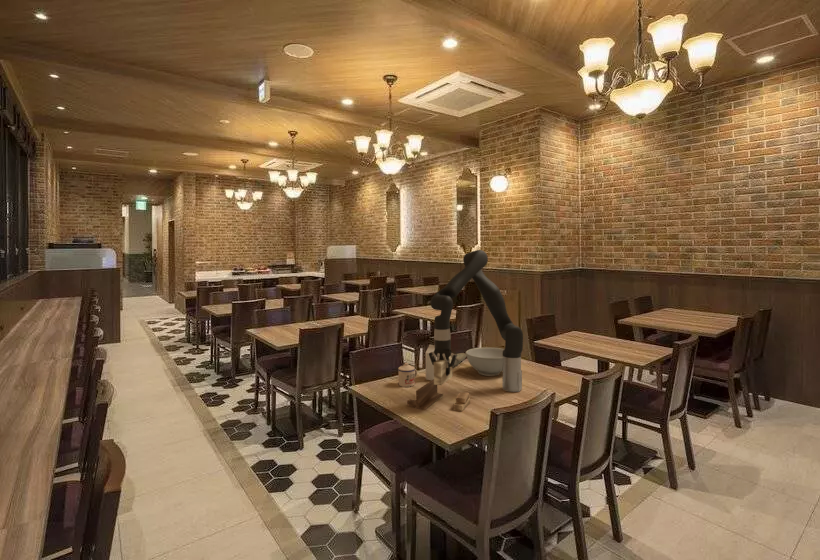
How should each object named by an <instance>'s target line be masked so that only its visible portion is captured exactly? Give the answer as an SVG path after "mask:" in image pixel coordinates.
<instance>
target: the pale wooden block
mask: <svg viewBox="0 0 820 560" xmlns="http://www.w3.org/2000/svg"><path fill="white" fill-rule="evenodd" d="M449 360H450V361H449V362H450V363H451V360H452V358H451V355H450V357H449ZM451 378H453V368H452V367H450V374H449V375H448V376H446V363H445V361H444V360H437V361H436V362H434V385H437V386H442V385H444V384H445V383H446V382H448V381H449V380H450V379H451Z"/></svg>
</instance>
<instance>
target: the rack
mask: <svg viewBox="0 0 820 560" xmlns="http://www.w3.org/2000/svg"><path fill="white" fill-rule="evenodd" d="M443 396H444V394H443V393H440V392H439V393H438V385H434V379H433V380H429V381H428V382H427V383H426V384H424V385H423V386H421V387H420V388H418V389H417V390H416V391H415V399H410V398H409V399H408V400H407V401H406V403H407V405H406V407H412V408H416V409H418V410H424V411H425V410H427V409H428V408H429V407H431V406H432V405H433V404H434V403H435V402H437V401H439V400H440V398H442V397H443Z"/></svg>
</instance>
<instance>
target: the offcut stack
mask: <svg viewBox="0 0 820 560" xmlns="http://www.w3.org/2000/svg"><path fill="white" fill-rule="evenodd" d="M455 399H456V400H455V403H454V404H453V411H459V412H463V411H464V410H465V409H466V408H467V407H468V406H469V405H471V398H470V393H469V392H462V391H460V392H459V393H458V394H457V396H456V398H455Z"/></svg>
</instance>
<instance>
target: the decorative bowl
mask: <svg viewBox="0 0 820 560" xmlns="http://www.w3.org/2000/svg"><path fill="white" fill-rule="evenodd" d="M504 349H505V348H499V347H490V346H488V347H485V346H484V347H474V348H470V349H468V350H466V351H465V354H466V358H467V361H468V363H469V364H470V366H471V367H472V368H473V369H474V370H475V371H477V372H478V374H479V375H481V376H485V377H486V376H487V377H495V376H499V375H500V374H501V372H503V350H504Z"/></svg>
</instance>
